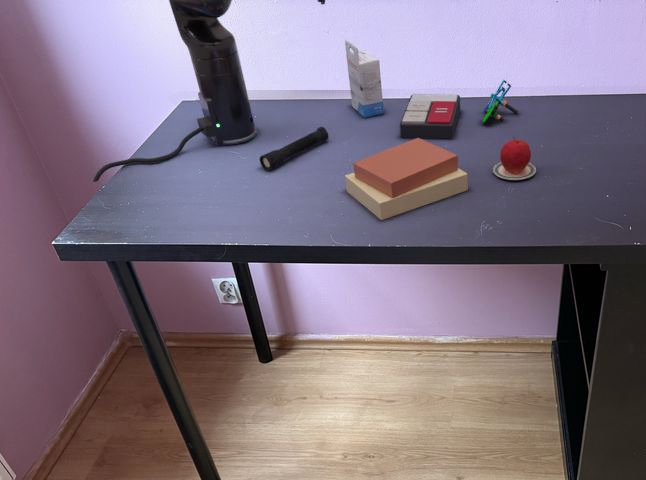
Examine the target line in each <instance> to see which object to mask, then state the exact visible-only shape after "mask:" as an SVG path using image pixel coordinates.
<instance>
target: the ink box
mask: <svg viewBox="0 0 646 480" xmlns="http://www.w3.org/2000/svg"><path fill="white" fill-rule="evenodd" d="M344 46H345V52H346V53H345V57H346V65H347V74H348V82H349V89H350V90H349V91H350V99H351V107H352V108H353V109H354V110H356V112H358V114H360V115H361V116H362V117H363V118H364V119H367V118H370V117H374V116H379V115H383V114H385V109H384V99H383V89H382V78H381V66H380V60H379V59H378V58H376V57H375V56H374V55H373V54H371V53H370V52H368V51H367V50H359V49H358V47H356V46H355V45H354V44H353V43H351V42H350V41H349V40H347V39H346V38H345V39H344Z"/></svg>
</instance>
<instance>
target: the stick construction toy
mask: <svg viewBox="0 0 646 480" xmlns="http://www.w3.org/2000/svg"><path fill="white" fill-rule="evenodd" d="M504 83H505V84H506V85H507V86H508V87H507V88H505V87H504V86H503V85H504ZM511 88H512V85H511V84H510V83H509V82H507V81H506V79H502V81H501V83H500V84H499V86H498V87H497V89H496V90H495V93H494V92H491V93H490V97H491V99H490V100H489V101H488V103H487V105H486V106H485V108H484V109H483V113H484V114H485V116H484V117H483V120H482V123H483V124H486V123H488V121H490V120H491V118H492V117H493V118H495V119H496V120H498V121H500V122H503V121H504V118H503V117H502V116H501V114H498V113H497V110H498V109H499V106H501V107H502V108H504V107H505V108H506V109H508V110H509V111H510V112H512V113H513V114H515V115H517V114H518V113H519V111H518V109H516V108H514V107H513V106H512V105H510V104H509V103H508V101H507V100H506V99H504V98H505V97H506V95H507V93H508V92H509V90H510V89H511ZM500 93H501V94H500ZM498 95H500V96H498ZM494 101H496V102H495V103H494Z"/></svg>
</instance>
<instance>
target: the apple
mask: <svg viewBox="0 0 646 480" xmlns="http://www.w3.org/2000/svg"><path fill="white" fill-rule="evenodd" d="M512 138H513V139H511V140H508V141H506V142H505V143H504V144H503V146H502V147H501V150H500V155H499V157H500V162H498V163H496V164H495V165H494V166H493V167H492V173H493V174H494V175H495V176H496V177H498V178H500V179H504V180H508V181H521V180H526V179H529V178H531V177H533V176H534V175H535V174H536V172H537V169H536V166H535V165H534V164H532V163H531V162H530V161H531V158H532V152H531V151H532V150H531V148H530V145H529V143H528V142H526V141H524V140H523V139H516V137H515V136H512Z"/></svg>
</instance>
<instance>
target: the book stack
mask: <svg viewBox="0 0 646 480" xmlns="http://www.w3.org/2000/svg"><path fill="white" fill-rule="evenodd" d="M458 156H459V155H458V154H455V153H453V152H451V151H449V150H447V149H444V148H442V147H440V146H437V145H436V144H433V143H431V142H429V141H427V140H424V139H423V138H413V139H411V140H409V141H405V142H403V143H401V144H399V145H396V146H393V147H391V148H388V149H386V150H383V151H380V152H378V153H375V154H372V155H370V156H367V157H364V158H362V159H360V160H357V161H354V162H353V163H352V165H353V172H352V173H348V174H345V175H344V180H345V186H346V192H347V193H348V194H349V195H351V197H352V198H354V199H355V200H356V201H357V202H359V204H361V205H362V206H363V207H364V208H366V209H367V210H368V211H370V212H371V213H372V214H373V215H374V216H375V217H376V218H378V219H379V220H380V221H383V220H387V219H389V218H392V217H395V216H399V215H400V214H401V215H402V214H403V213H404V214H405V213H406V212H409V211H412V210H415V209H418V208H421V207H424V206H426V205H429V204H432V203H435V202H438V201H441V200H443V199H446V198H450V197H452V196H455V195H458V194H461V193H464V192H467V191H469V190H468V189H469V182H468V181H469V174H468V173H467V172H465V171H464V170H463V169H460V167H459V159H458V158H459V157H458Z"/></svg>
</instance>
